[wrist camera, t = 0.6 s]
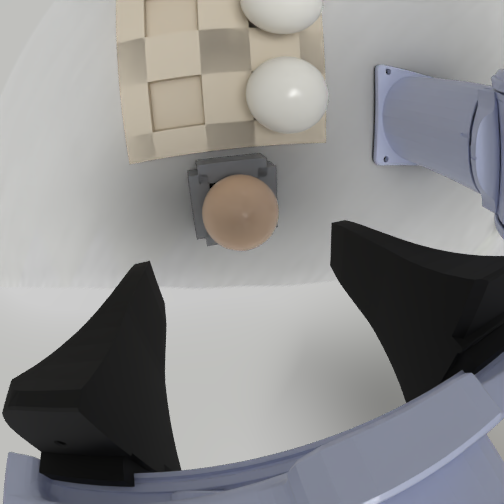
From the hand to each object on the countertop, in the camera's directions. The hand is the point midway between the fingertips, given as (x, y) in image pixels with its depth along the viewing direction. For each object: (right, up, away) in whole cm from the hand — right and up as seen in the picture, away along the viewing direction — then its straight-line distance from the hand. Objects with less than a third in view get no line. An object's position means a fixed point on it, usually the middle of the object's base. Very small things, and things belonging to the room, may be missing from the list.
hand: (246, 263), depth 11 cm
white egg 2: (+2, +9, +3) cm, 9 cm away
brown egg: (0, +3, +6) cm, 6 cm away
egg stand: (-1, +4, +8) cm, 9 cm away
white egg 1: (+2, +14, 0) cm, 14 cm away
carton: (-2, +12, +4) cm, 13 cm away
